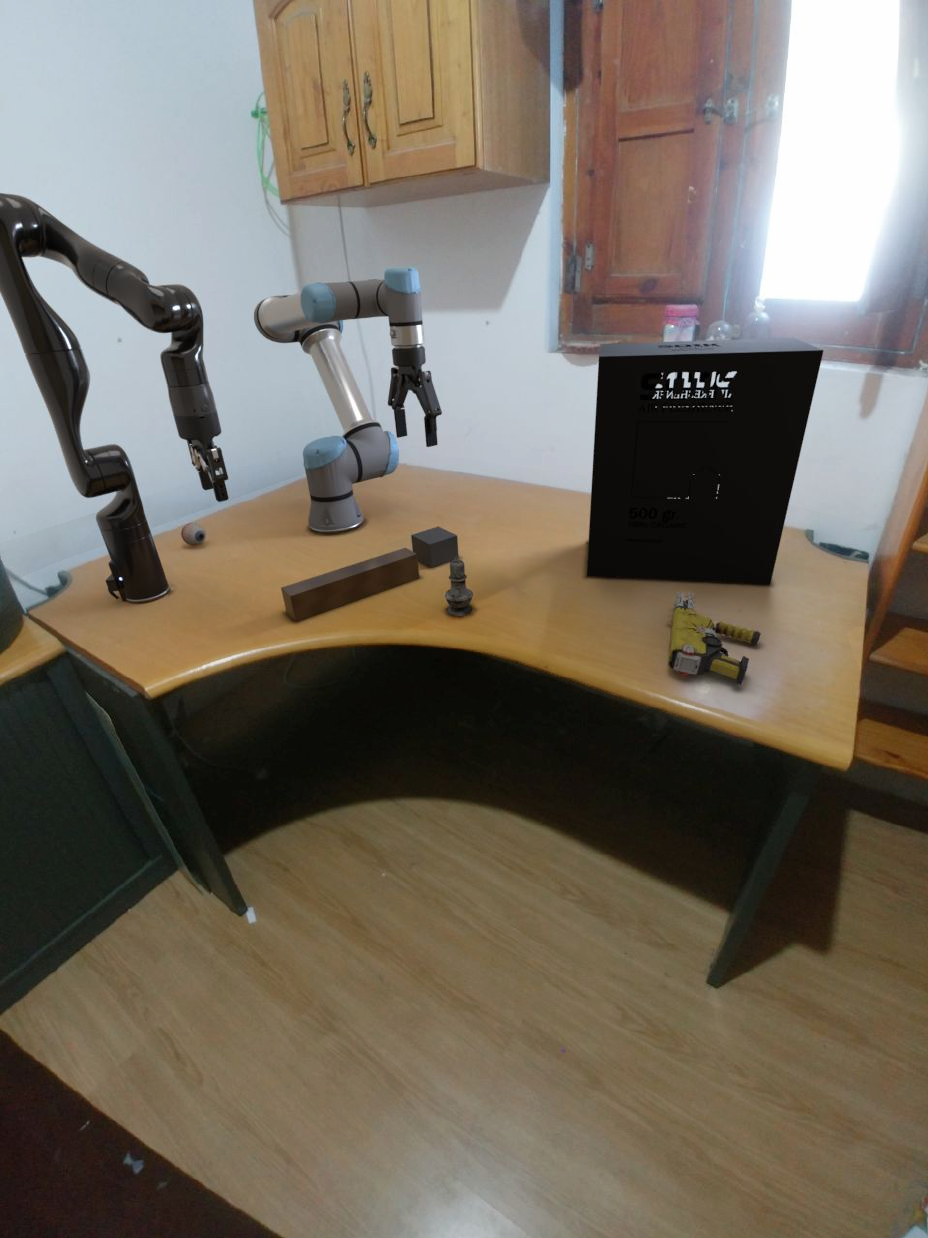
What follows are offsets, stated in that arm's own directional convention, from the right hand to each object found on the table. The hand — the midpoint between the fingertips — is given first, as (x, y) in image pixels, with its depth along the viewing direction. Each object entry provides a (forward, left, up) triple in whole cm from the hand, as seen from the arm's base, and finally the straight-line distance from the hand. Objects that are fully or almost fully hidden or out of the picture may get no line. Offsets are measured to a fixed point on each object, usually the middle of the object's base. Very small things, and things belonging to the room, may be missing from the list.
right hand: (416, 441), depth 147 cm
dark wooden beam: (+18, -30, -25) cm, 43 cm away
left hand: (+5, -50, 0) cm, 51 cm away
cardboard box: (+53, +33, -25) cm, 67 cm away
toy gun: (+80, +9, -25) cm, 84 cm away
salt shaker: (+39, -17, -25) cm, 49 cm away
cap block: (+14, -6, -25) cm, 29 cm away
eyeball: (-37, -49, -25) cm, 66 cm away
